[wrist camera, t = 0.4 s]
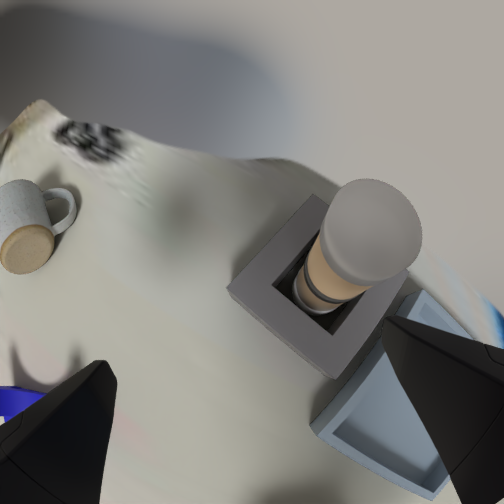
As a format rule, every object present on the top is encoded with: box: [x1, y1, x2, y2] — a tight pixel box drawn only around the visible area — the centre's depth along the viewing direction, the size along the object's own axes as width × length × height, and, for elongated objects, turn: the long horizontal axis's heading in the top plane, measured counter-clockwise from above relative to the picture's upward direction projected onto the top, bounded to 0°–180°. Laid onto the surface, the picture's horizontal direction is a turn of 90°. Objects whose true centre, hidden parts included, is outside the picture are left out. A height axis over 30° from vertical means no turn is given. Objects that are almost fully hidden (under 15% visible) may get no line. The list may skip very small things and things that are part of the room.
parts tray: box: [309, 289, 473, 501], centre depth 17 cm, size 16×14×3 cm
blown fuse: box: [292, 179, 422, 316], centre depth 16 cm, size 4×4×13 cm
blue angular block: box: [0, 386, 47, 422], centre depth 16 cm, size 12×4×6 cm, turn 98°
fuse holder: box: [226, 194, 409, 380], centre depth 21 cm, size 10×10×4 cm
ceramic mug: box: [0, 179, 77, 274], centre depth 21 cm, size 11×8×8 cm
